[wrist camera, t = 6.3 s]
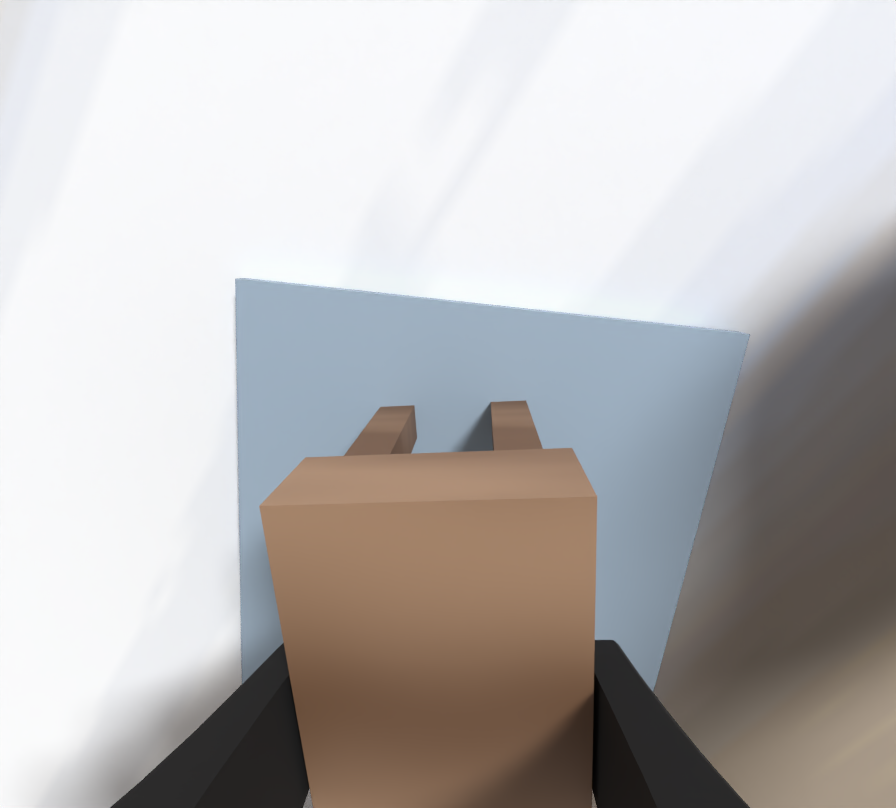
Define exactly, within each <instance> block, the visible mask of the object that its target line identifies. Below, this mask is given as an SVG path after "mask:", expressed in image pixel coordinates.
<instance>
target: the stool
mask: <svg viewBox="0 0 896 808" xmlns="http://www.w3.org/2000/svg"><path fill="white" fill-rule="evenodd" d="M491 421H492V442H493V451H469V452H440V453H412V450H413V447H414V445H415V442H416V440H417V430H416V419H415V407H414V405H410V406H387V407H380V408H379V409H378V411H377V412H376V413H375V415H374V416H373V417H372V419H371V420H370V421H369V423H368V424H367V425H366V427H365V428H364V429H363V431H362V432H361V433H360V435H359V436H358V437H357V439H356V440H355V441H354V443H353V444H352V445H351V447H350V448H349V449H348V451H347V452H346V453H345V455H344V456H328V457H305V458H304V459H303V460H302V461H301V462H300V464H299V465H298V466H297V467H296V468H295V469H294V470H293V471H292V472H291V473H290V474H289V475H288V476H287V477H286V478H285V479H284V480H283V481H282V482H281V484H280V485H279V486H278V487H277V488H276V489H275V490H274V491H273V492H272V493H271V494H270V495H269V496H268V497H267V498H266V499H265V500H264V501H263V503H262V504H261V505H260V506H259V508H260V513H261V519H262V524H263V530H264V536H265V541H266V547H267V552H268V558H269V564H270V569H271V575H272V580H273V586H274V592H275V597H276V603H277V608H278V614H279V620H280V625H281V631H282V636H283V642H284V647H285V653H286V659H287V664H288V670H289V675H290V681H291V687H292V692H293V698H294V703H295V709H296V715H297V720H298V726H299V731H300V737H301V742H302V748H303V754H304V759H305V765H306V770H307V776H308V782H309V787H310V793H311V798H312V804H313V808H592V762H593V707H594V652H595V597H596V542H597V495H596V493H595V491H594V489H593V487H592V485H591V483H590V482H589V480H588V478H587V476H586V474H585V472H584V470H583V468H582V466H581V464H580V462H579V460H578V458H577V456H576V455H575V453H574V451H573V449H572V448H553V449H543V447H542V445H541V442H540V439H539V436H538V433H537V430H536V427H535V425H534V422H533V419H532V416H531V413H530V410H529V407H528V405H527V402H526V400H525V401H502V402H491ZM411 453H412V454H411Z"/></svg>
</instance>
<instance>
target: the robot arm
mask: <svg viewBox="0 0 896 808" xmlns="http://www.w3.org/2000/svg"><path fill="white" fill-rule="evenodd" d="M309 788H310V787H309V782H308V776H307V770H306V765H305V759H304V754H303V748H302V742H301V737H300V731H299V726H298V720H297V715H296V709H295V703H294V698H293V692H292V687H291V681H290V675H289V670H288V664H287V659H286V653H285V647H284V643H283V644H282V645H281V646H279V647H278V648H277V649H276V650H275V651H274V652H273V653H272V654H271V655H270V656H269V657H268V658H267V659H266V661H265V662H264V663H263V664H262V665H261V666H260V667H259V668H258V669H257V670H256V671H255V672H254V673H253V674H252V675H251V676H250V677H249V678H248V679H247V680H246V681H245V682H244V683H243V684H242V685H241V686H240V687H239V688H238V689H237V690H236V691H235V692H234V693H233V694H232V695H231V696H230V697H229V698H228V699H227V700H226V701H225V702H224V703H223V704H222V705H221V706H220V707H219V708H218V709H217V710H216V711H215V712H214V713H213V714H212V715H211V716H210V717H209V718H208V719H207V720H206V721H205V722H204V723H203V724H202V725H201V726H200V727H199V728H198V729H197V730H196V731H195V732H194V733H193V734H192V735H191V736H189V737H188V738H187V739H186V740H185V741H184V742H183V743H182V744H181V745H180V746H179V747H177V748H176V749H175V750H174V751H173V752H172V753H171V754H170V755H169V756H168V757H167V758H166V759H164V760H163V761H162V762H161V763H160V764H159V765H158V766H157V767H156V768H155V769H154V770H153V771H151V772H150V773H149V774H148V775H147V776H146V777H145V778H144V779H143V780H142V781H141V782H139V783H138V784H137V785H136V786H135V787H134V788H133V789H131V790H130V791H129V792H128V793H127V794H126V795H124V796H123V797H122V798H121V799H120V800H119V801H117V802H116V803H115V804H114V805H113V806H111V807H110V808H303V805H304V802H305V800H306V797H307V794H308V791H309ZM592 790H593V794H594V797H595V801H596V805H597V808H750V807H749V806H748V805H747V804H746V803H745V802H744V801H743V800H742V798H741V797H740V796H739V795H738V794H737V793H736V792H735V791H734V789H733V788H732V787H731V786H730V785H729V784H728V783H727V782H726V780H725V779H724V778H723V777H722V776H721V775H720V774H719V773H718V772H717V770H716V769H715V768H714V767H713V766H712V765H711V763H710V762H709V761H708V760H707V759H706V758H705V756H704V755H703V754H702V753H701V752H700V751H699V749H698V748H697V747H696V746H695V744H694V743H693V742H692V741H691V740H690V738H689V737H688V736H687V735H686V733H685V732H684V731H683V730H682V729H681V727H680V726H679V725H678V724H677V722H676V721H675V720H674V719H673V718H672V716H671V715H670V714H669V712H668V711H667V710H666V709H665V707H664V706H663V705H662V704H661V702H660V701H659V700H658V698H657V697H656V696H655V694H654V693H653V692H652V690H651V689H650V688H649V686H648V685H647V684H646V682H645V681H644V680H643V678H642V677H641V676H640V674H639V673H638V671H637V670H636V669H635V667H634V666H633V664H632V663H631V662H630V660H629V659H628V657H627V656H626V654H625V653H624V652H623V650H622V649H621V647H620V646H619V644H617V643H616V642H615V641H614V640H595V652H594V707H593V762H592Z"/></svg>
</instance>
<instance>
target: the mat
mask: <svg viewBox="0 0 896 808" xmlns="http://www.w3.org/2000/svg"><path fill="white" fill-rule="evenodd" d="M235 284H236V345H237V407H238V468H239V529H240V590H241V651H242V684H243V683H244V682H245V681H246V680H247V679H248V678H249V677H250V676H251V675H252V674H253V673H254V672H255V671H256V670H257V669H258V668H259V667H260V666H261V665H262V664H263V663H264V662H265V661H266V659H267V658H268V657H269V656H270V655H271V654H272V653H273V652H274V651H275V650H276V649H277V648H278V647H279V646H281V645H282V644H283V643H284V642H283V636H282V631H281V625H280V620H279V614H278V608H277V603H276V597H275V592H274V586H273V580H272V575H271V569H270V564H269V558H268V552H267V547H266V541H265V536H264V530H263V524H262V519H261V513H260V508H259V506H260V505H261V504H262V503H263V501H264V500H265V499H266V498H267V497H268V496H269V495H270V494H271V493H272V492H273V491H274V490H275V489H276V488H277V487H278V486H279V485H280V484H281V482H282V481H283V480H284V479H285V478H286V477H287V476H288V475H289V474H290V473H291V472H292V471H293V470H294V469H295V468H296V467H297V466H298V465H299V464H300V462H301V461H302V460H303V459H304V458H305V457H328V456H344V455H345V453H346V452H347V451H348V449H349V448H350V447H351V445H352V444H353V443H354V441H355V440H356V439H357V437H358V436H359V435H360V433H361V432H362V431H363V429H364V428H365V427H366V425H367V424H368V423H369V421H370V420H371V419H372V417H373V416H374V415H375V413H376V412H377V411H378V409H379V408H380V407H387V406H410V405H414V407H415V419H416V430H417V440H416V442H415V445H414V447H413V450H412V453H440V452H469V451H493V442H492V421H491V402H502V401H525V400H526V402H527V405H528V407H529V410H530V413H531V416H532V419H533V422H534V425H535V427H536V430H537V433H538V436H539V439H540V442H541V445H542V447H543V449H553V448H572V449H573V451H574V453H575V455H576V456H577V458H578V460H579V462H580V464H581V466H582V468H583V470H584V472H585V474H586V476H587V478H588V480H589V482H590V483H591V485H592V487H593V489H594V491H595V493H596V495H597V542H596V597H595V640H614V641H615V642H616V643H617V644H619V646H620V647H621V649H622V650H623V652H624V653H625V654H626V656H627V657H628V659H629V660H630V662H631V663H632V664H633V666H634V667H635V669H636V670H637V671H638V673H639V674H640V676H641V677H642V678H643V680H644V681H645V682H646V684H647V685H648V686H649V688H650V689H651V690H652V692H653V691H654V688H655V684H656V680H657V676H658V673H659V669H660V665H661V662H662V658H663V654H664V651H665V647H666V643H667V639H668V636H669V632H670V628H671V625H672V621H673V617H674V614H675V610H676V606H677V602H678V599H679V595H680V591H681V588H682V584H683V580H684V577H685V573H686V569H687V566H688V562H689V558H690V554H691V551H692V547H693V543H694V540H695V536H696V532H697V529H698V525H699V521H700V517H701V514H702V510H703V506H704V503H705V499H706V495H707V492H708V488H709V484H710V480H711V477H712V473H713V469H714V466H715V462H716V458H717V455H718V451H719V447H720V443H721V440H722V436H723V432H724V429H725V425H726V421H727V418H728V414H729V410H730V406H731V403H732V399H733V395H734V392H735V388H736V384H737V381H738V377H739V373H740V369H741V366H742V362H743V358H744V355H745V351H746V347H747V344H748V340H749V336H750V334H746V333H742V332H736V331H727V330H718V329H708V328H699V327H690V326H681V325H672V324H662V323H653V322H644V321H635V320H625V319H616V318H607V317H598V316H589V315H579V314H570V313H561V312H552V311H542V310H533V309H524V308H515V307H506V306H496V305H487V304H478V303H469V302H459V301H450V300H441V299H432V298H423V297H413V296H404V295H395V294H386V293H376V292H367V291H358V290H349V289H340V288H330V287H321V286H312V285H303V284H293V283H284V282H275V281H266V280H257V279H247V278H240V279H235ZM412 453H411V454H412Z"/></svg>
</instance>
